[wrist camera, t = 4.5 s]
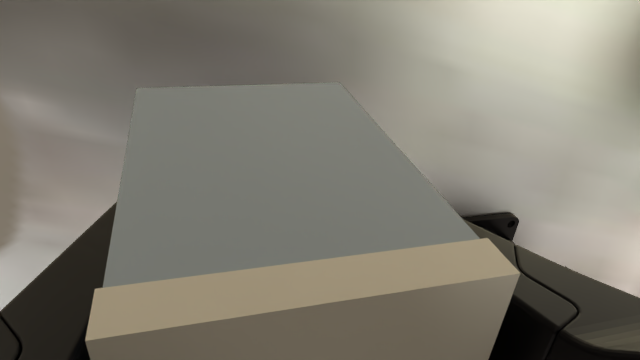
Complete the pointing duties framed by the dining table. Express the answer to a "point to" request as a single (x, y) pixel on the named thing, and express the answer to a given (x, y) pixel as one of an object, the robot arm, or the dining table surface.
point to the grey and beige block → (286, 238)
